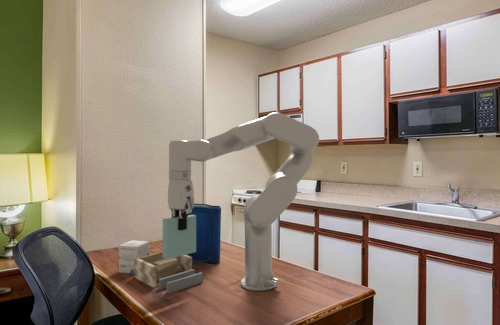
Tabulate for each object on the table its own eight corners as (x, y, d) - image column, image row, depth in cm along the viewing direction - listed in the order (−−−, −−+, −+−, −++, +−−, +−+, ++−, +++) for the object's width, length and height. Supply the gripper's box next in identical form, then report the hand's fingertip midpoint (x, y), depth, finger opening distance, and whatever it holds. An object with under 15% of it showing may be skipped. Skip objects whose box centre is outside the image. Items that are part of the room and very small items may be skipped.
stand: (206, 285, 119) (206, 273, 119) (169, 298, 108) (169, 285, 108) (191, 278, 125) (191, 267, 125) (155, 290, 115) (155, 278, 114)
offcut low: (181, 275, 125) (181, 266, 125) (157, 283, 118) (157, 273, 118) (175, 273, 128) (175, 264, 128) (151, 280, 121) (151, 270, 121)
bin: (192, 278, 126) (192, 257, 126) (153, 290, 115) (153, 267, 114) (172, 269, 136) (171, 249, 136) (134, 279, 124) (134, 258, 124)
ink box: (150, 269, 136) (150, 240, 136) (138, 276, 128) (137, 246, 127) (131, 267, 138) (131, 239, 138) (118, 274, 130) (118, 244, 130)
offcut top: (177, 267, 125) (177, 259, 125) (159, 273, 119) (159, 264, 119) (171, 265, 127) (171, 257, 127) (153, 270, 121) (153, 262, 121)
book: (222, 259, 148) (222, 203, 148) (219, 264, 141) (219, 205, 141) (175, 258, 150) (174, 202, 150) (170, 263, 143) (169, 205, 143)
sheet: (196, 251, 120) (196, 215, 119) (166, 259, 111) (166, 220, 111) (192, 250, 121) (192, 214, 121) (162, 257, 113) (162, 219, 113)
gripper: (202, 176, 113) (202, 231, 113) (176, 174, 124) (176, 224, 125) (184, 177, 107) (183, 234, 108) (158, 175, 119) (158, 227, 119)
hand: (179, 228), depth 116 cm, fingers closed on sheet, 2 cm apart
